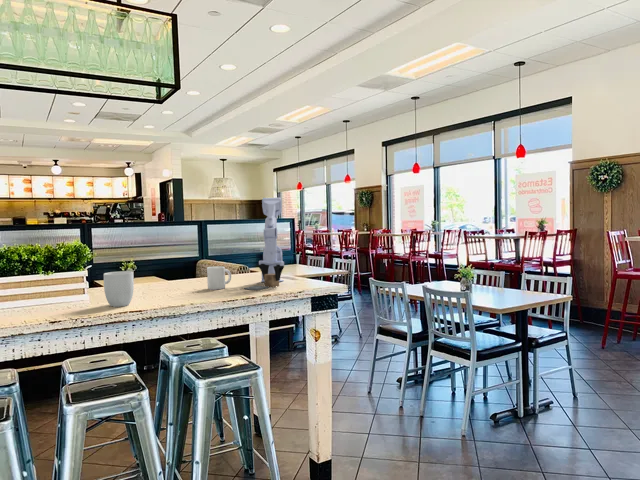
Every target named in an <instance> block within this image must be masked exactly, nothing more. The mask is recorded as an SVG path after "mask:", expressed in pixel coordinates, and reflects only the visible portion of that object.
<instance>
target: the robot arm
mask: <svg viewBox="0 0 640 480" xmlns="http://www.w3.org/2000/svg"><path fill="white" fill-rule="evenodd" d="M261 203H262V204H261V207H262V213H263V215H265V217H266V218H265V221H264V229H263V241H264V249H263V251H262V252H263V254H262V260H259V261H258V268H259V270H260V272H261V280H260V282H261V283H265V281H264V275H265V274H271V273H272V274H275V278H276V281H278V280H279V283H280V282H284V281H285V280H284V279H281V276H282V272H283V270H284V268H285V261H283V249H282V248H281V247H280V246H278V242H277V241H278V240H277V239H278V225H277V223H278V222H277V220H278V217H279V215H281V213H282V197H263V198H262V199H261Z"/></svg>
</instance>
